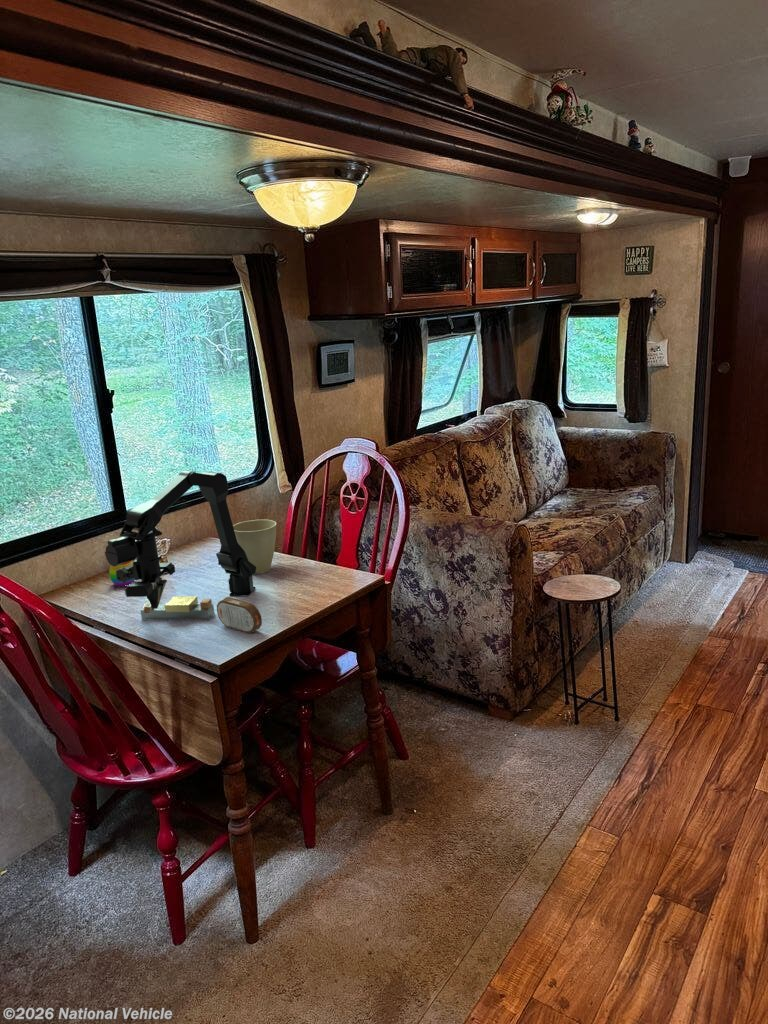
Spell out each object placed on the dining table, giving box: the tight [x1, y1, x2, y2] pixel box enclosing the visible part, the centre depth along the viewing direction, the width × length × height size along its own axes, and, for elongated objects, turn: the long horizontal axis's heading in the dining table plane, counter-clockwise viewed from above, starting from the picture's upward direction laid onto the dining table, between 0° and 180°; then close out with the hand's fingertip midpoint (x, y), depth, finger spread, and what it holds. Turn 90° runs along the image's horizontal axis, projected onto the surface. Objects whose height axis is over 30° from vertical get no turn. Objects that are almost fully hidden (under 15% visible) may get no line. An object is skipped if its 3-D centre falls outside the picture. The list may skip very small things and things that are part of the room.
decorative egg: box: [108, 560, 136, 587], centre depth 231 cm, size 8×8×10 cm
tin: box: [216, 596, 263, 634], centre depth 191 cm, size 15×3×8 cm, turn 55°
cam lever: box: [143, 596, 152, 613], centre depth 197 cm, size 12×2×5 cm, turn 16°
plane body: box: [140, 598, 215, 621], centre depth 202 cm, size 20×4×5 cm, turn 83°
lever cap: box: [164, 595, 199, 612], centre depth 201 cm, size 7×6×2 cm
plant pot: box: [233, 519, 278, 575], centre depth 236 cm, size 15×15×16 cm
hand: (155, 608), depth 194 cm, fingers closed
